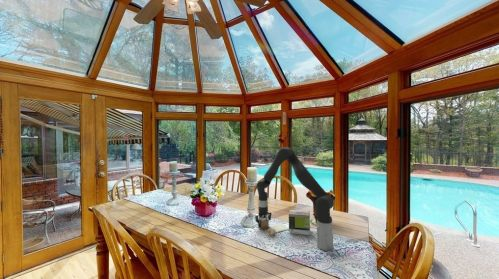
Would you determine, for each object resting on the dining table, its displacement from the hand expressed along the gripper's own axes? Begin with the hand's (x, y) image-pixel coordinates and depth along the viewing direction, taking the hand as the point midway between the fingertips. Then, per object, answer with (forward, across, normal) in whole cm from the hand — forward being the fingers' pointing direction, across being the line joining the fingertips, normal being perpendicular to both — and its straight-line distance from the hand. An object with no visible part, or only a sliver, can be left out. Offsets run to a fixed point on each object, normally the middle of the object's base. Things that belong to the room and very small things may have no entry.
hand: (263, 226), depth 178 cm
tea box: (+1, +20, -18) cm, 28 cm away
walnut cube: (+1, 0, 0) cm, 1 cm away
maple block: (+1, -1, -13) cm, 13 cm away
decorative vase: (+1, +47, -13) cm, 49 cm away
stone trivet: (+1, +10, -6) cm, 12 cm away
